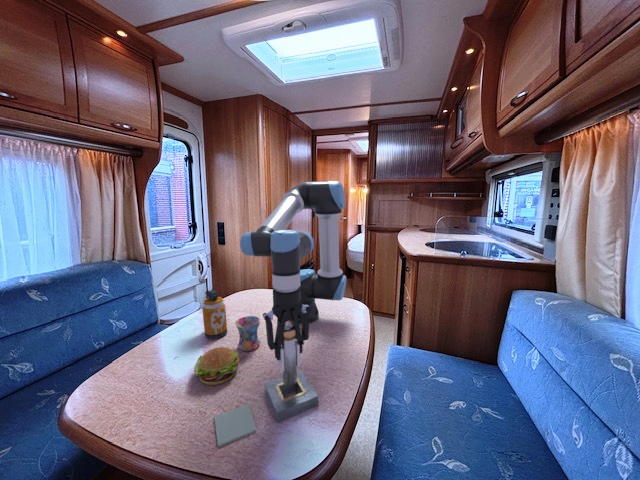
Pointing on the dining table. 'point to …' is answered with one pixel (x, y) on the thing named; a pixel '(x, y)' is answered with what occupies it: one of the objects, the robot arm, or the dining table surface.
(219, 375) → the food
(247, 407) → the rest pad
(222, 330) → the canister
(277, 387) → the plate
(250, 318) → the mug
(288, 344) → the key peg
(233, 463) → the dining table surface
